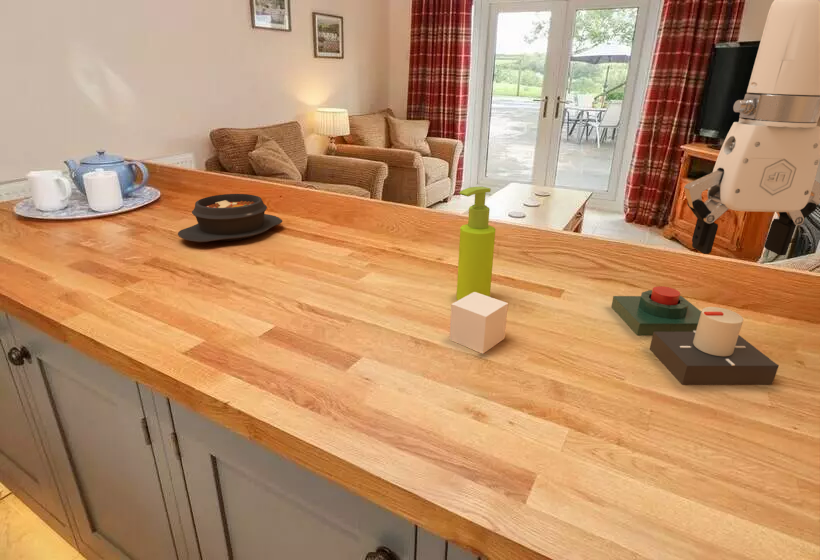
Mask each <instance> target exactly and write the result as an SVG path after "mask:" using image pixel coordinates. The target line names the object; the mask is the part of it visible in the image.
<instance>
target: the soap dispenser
mask: <svg viewBox="0 0 820 560" xmlns="http://www.w3.org/2000/svg"><path fill="white" fill-rule="evenodd" d="M491 191H492V189H491V188H490V187H487V186H470V187H466V188H464V189H462V190H460V191H459V192H458V194H459V195H461V196H465V197H467V198H468V197H471V196H472V195H474V204H472V205H470V206H469V207H468V218H467V219H468V220H467V223H466V224H462V225H461V226H460V228H459V242H458V243H459V244H458V264H457V280H456V301H458V300H460V299H462V298H464V297H466V296H467V295H469V294H471V293H473V292H477V293H480V294H483V295H486V296H489V297H491V288H492V276H493V265H494V253H495V241H496V240H495V239H496V230H497V229H496V228H495V226H492V225H489V224H490V223H489V222H490V211H491V210H490V207H489V206H487V204H486V194H487V193H491Z"/></svg>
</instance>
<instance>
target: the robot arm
mask: <svg viewBox="0 0 820 560" xmlns="http://www.w3.org/2000/svg"><path fill="white" fill-rule="evenodd" d="M758 45H759V46H758V49H757V53H756V57H755V60H754V64H753V68H752V70H751V75H750V79H749V82H748V86H747V89H746V93H745V94H744V98H743V99H738V100H736V101H735V102H734V103H733V106H732V110H733V112H734V113H739V118H738V121H734V122H733V123H732V125H731V126H730V129H729V131H728V132H727V134H726V136H725V139H724V141H723V143H722V145H721V148H720V151H719V153H718V155H717V158H716V161H715V164H714V166H713V169H712V172H711V173H708V174H706V175H703V176H702V177H699V178H697V179H695V180H692V181H691V182H688V183H686V184H685V185H684V188H683V189H684V193H685V197H686V200H687V202H686V203H687V206H688V208H689V209H690V211H691V212H692V213H693V216H694V218H696V221H695V222H696V223H695V226H694V229H693V234H692V236H691V246H692V248H693V249H695V250H697V252H700V253H702V254H703V255H709V254H711V253H712V250H713V247H714V243H715V240H716V236H717V232H718V228H719V224H718V223H716V222H715V221H717V220H718V219H719V218H720V217H721V216H723V214H725V213H726V212H727V211H728V210H732V211H734V212H735V211H736V212H756V213H757V212H758V213H759V212H760V213H761V212H764V213H776V215H777V216H778V218H773V220H772V221H771V224H770V226H769V229H768V233H767V236H766V239H765V242H764V246H763V247H764V248H765V250H768V251H770V252H772V253H774V254H776V255H778V256H786V255H787V253H788V250H789V248H790V244H791V242H792V239H793V236H794V234H795V230H796V227H797V226H800V225H803V223H804V221H805V219H806V218H807V217H808V216H810V215H812V214H813V213H814V212H815V211H817V208H818V205H820V182H818V181H817V180H816V176H817V173H818V169H819V164H820V125H818V122H819V119H820V0H773V1H772V3H771V5H770V6H769V10H768V14H767V16H766V20H765V24H764V27H763V31H762V35H761V39H760V42H759V44H758ZM706 190H707V195H706V197H707V199H706V200H705V201H703V199H702V198H703V197H702V193H704V191H706Z"/></svg>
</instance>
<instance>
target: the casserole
mask: <svg viewBox="0 0 820 560" xmlns="http://www.w3.org/2000/svg"><path fill="white" fill-rule="evenodd" d="M267 209H268V206H267V205H266V204H265V203H264V201H263V199H262V197H260V196H258V195H254V194H249V193H248V194H247V193H225V194H217V195H216V194H215V195H211V196H206V197H203V198H201V199H198V200H197V201H196V202H195V203H194V207H193V209H192V210H191V215H193V216H194V217H195V219H196V222H197V223H196V224H194V225H191V226H188V227H186V228H183V229H180V230H179V231H178V232H177V236H178V237H179V238H180V239H182V240H186V241H188V242H195V243H209V242H214V241H215V242H217V241H223V242H228V241H229V242H231V241H233V242H234V241H240V240H245V239H249V238H253V237H256V236H257V235H260V234H263V233H265V232H267V231H269V230H270V229H271V228H274V227H276V226H279V225H281V224H282V223H283V219H281V218H280V217H279V216H276V215H273V214H267V213H265V212H266V211H267Z"/></svg>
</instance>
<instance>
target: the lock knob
mask: <svg viewBox="0 0 820 560" xmlns="http://www.w3.org/2000/svg"><path fill="white" fill-rule="evenodd" d="M700 311H701V315H700V318H699V322H698V326H697V329H696V333H695V337H694V340H693V344H694V346H695V347H696V348H697V349H699V350H701V351H703V352H705V353H708V354H711V355H715V356H730V355H732V354H733V352H734V348H735V345H736V342H737V339H738V336H739V335H740V333H741V329H742V326H743V322H744V317H743V316H742V314H739V313H738V312H736V311H734V310H731V309H728V308H724V307H718V306H706V307H703V308H702V309H701V310H700Z"/></svg>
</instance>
